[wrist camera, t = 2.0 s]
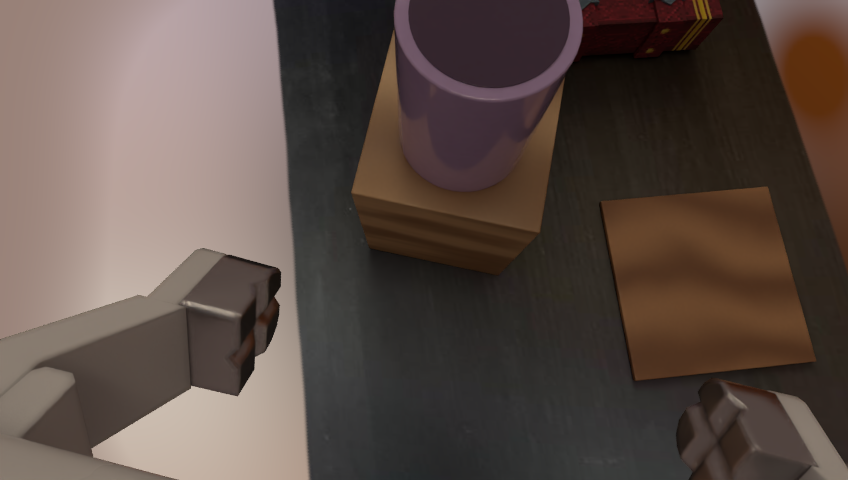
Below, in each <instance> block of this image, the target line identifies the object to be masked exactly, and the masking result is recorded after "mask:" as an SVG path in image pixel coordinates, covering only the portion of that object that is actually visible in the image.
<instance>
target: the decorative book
mask: <svg viewBox="0 0 848 480" xmlns="http://www.w3.org/2000/svg"><path fill="white" fill-rule="evenodd" d="M579 2H580V6H581V9H582V17H583V34H582V40H581V44H580V47H579V50H578V53H577V55H576V57H575V59H574V61H573V62H577V61H579V60H580V59H581V57H582V56H589V55H606V54H623V53H633V57H634V58H644V57H659V55H660V54H661V53H662V52H663V51H673V50H690V49H696V48H697V47H698V46H699V45H700V44H701V42H702V41H703V40H704V39H705V38H706V37H707V36H708V35H709V34H710V32H711V31H712V30H713V29H714V28H715V27H716V26H717V25H718V24H719V22H720V21H721V20H722V19H723V14H722V10H721V6H720V3H719V0H579Z"/></svg>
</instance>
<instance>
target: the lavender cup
mask: <svg viewBox="0 0 848 480" xmlns="http://www.w3.org/2000/svg"><path fill="white" fill-rule="evenodd" d="M394 32H395V56H396V81H397V105H398V129H399V141H400V145H401V149H402V152H403V154H404V156H405V158H406V160H407V161H408V163H409V164H410V166H411V167H412V168H413V169H414V170H415V172H417V173H418V174H419V175H420V176H421V177H422V178H424V179H425V180H427V181H428V182H430V183H432V184H434V185H435V186H438V187H440V188H443V189H447V190H451V191H458V192H472V191H478V190H482V189H486V188H488V187H491V186H493V185H495V184H497V183H499V182H500V181H502V180H503V179H504V178H506V177H507V176H508V175H509V174H510V173H511V172H512V171H513V170H514V169H515V167H516V166H517V164H518V163H519V161H520V159H521V157H522V156H523V154H524V152H525V150H526V148H527V146H528V144H529V143H530V141H531V139H532V137H533V135H534V133H535V131H536V130H537V128H538V126H539V124H540V122H541V120H542V118H543V117H544V115H545V113H546V111H547V109H548V107H549V105H550V104H551V102H552V100H553V98H554V96H555V94H556V92H557V91H558V89H559V87H560V85H561V83H562V81H563V79H564V78H565V76H566V74H567V72H568V70H569V68H570V66H571V65H572V63H573V61H574V59H575V57H576V55H577V53H578V50H579V47H580V44H581V40H582V34H583V17H582V9H581V6H580V2H579V0H396V1H395V8H394Z"/></svg>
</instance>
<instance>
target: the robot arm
mask: <svg viewBox="0 0 848 480" xmlns="http://www.w3.org/2000/svg"><path fill="white" fill-rule="evenodd" d="M280 287H281V272H280V270H279V269H278V268H276V267H272V266H268V265H265V264H261V263H257V262H254V261H250V260H246V259H243V258H239V257H236V256H232V255H226V254H224V253H219V252H216V251H212V250H208V249H205V248H202V249H198V250H196V251H194V252H193V253H192V254H191V255H190V256H189V257H188V258H187V259H186V260H185V261H184V262H183V263H182V264H181V265H180V266H179V267H178V268H177V269H176V270H175V271H173V273H171V274H170V275H169V276H168V277H167V278H166V279H165V280H164V281H163V282H162V283H161V284H160V285H159V286H158V287H157V288H156V289H155V290H154V291H153V292H152V293H151V294H150V295H148V297H145V296H141V295H137V296H134V297H131V298H128V299H125V300H122V301H119V302H115V303H112V304H109V305H106V306H103V307H100V308H97V309H94V310H91V311H87V312H84V313H81V314H78V315H75V316H72V317H69V318H65V319H62V320H59V321H56V322H53V323H50V324H47V325H43V326H40V327H37V328H34V329H31V330H28V331H25V332H22V333H18V334H15V335H12V336H9V337H6V338H3V339H0V480H177V479H173V478H169V477H165V476H161V475H158V474H153V473H150V472H146V471H142V470H139V469H135V468H131V467H127V466H124V465H119V464H116V463H112V462H109V461H104V460H101V459H97V458H93V454H92V450H91V448H93V447H94V446H96V445H98V444H99V443H101V442H103V441H104V440H106V439H108V438H109V437H111V436H113V435H114V434H116V433H118V432H119V431H121V430H122V429H124V428H126V427H128V426H129V425H131V424H133V423H134V422H136V421H138V420H139V419H141V418H142V417H144V416H146V415H147V414H149V413H151V412H152V411H154V410H156V409H157V408H159V407H161V406H162V405H164V404H166V403H167V402H169V401H170V400H172V399H174V398H176V397H177V396H179V395H180V394H182V393H184V392H186V391H187V390H189V389H191V386H195V387H199V388H204V389H209V390H212V391H217V392H221V393H226V394H230V395H235V396H238V395H239V393H240V392H241V390H242V388H243V387H244V385H245V383H246V382H247V380H248V378H249V377H250V375H251V374H252V372H253V371H254V364H255V357H256V356H258V355H260V354H261V353H264V352H265V351H266V349H267V347H268V346H269V344H270V342H271V340H272V337H273V335H274V332H275V329H276V326H277V322H278V317H279V306H280V305H279V303H278V302H277V300H276V299H275V297H274V296H275V294H276V293H277V291H278V290H279V288H280ZM698 394H699V398H700V402H699V403H697V404H694V405H692V406H690V407H687V408H686V410H685V411H684V413H683V414H682V416H681V418H680V419H679V422H678V427H677V432H676V441H677V448H678V451H679V455H680V458H681V459H682V460H683V462H684V463H685V464H686V465H687V466H688V467H689V468H690V469H691V470H692V471H693V472H692V474H691V476H690V478H689V480H848V468H847V466H846V465H845V463H844V462H843V460H842V459H841V457H840V456H839V454H838V452H837V451H836V449H835V448H834V446H833V445H832V443H831V442H830V440H829V439H828V437H827V435H826V434H825V432H824V431H823V429H822V428H821V426H820V425H819V423H818V422H817V420H816V419H815V417H814V415H813V414H812V412H811V411H810V409H809V408H808V406H807V405H806V403H804V402H803V401H802V400H801V399H799V398H798V397H795V396H791V395H787V394H782V393H778V392H773V391H769V390H768V391H765V390H761V389H757V388H753V387H749V386H745V385H741V384H737V383H733V382H729V381H725V380H721V379H717V378H711V379H709V380H707V381H706V382H704V384H703V385H702V386H701V388H700V389H699V391H698Z"/></svg>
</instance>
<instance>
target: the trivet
mask: <svg viewBox="0 0 848 480" xmlns="http://www.w3.org/2000/svg"><path fill="white" fill-rule="evenodd" d="M599 204H600V209H601V214H602V220H603V225H604V230H605V235H606V240H607V245H608V251H609V256H610V261H611V266H612V271H613V277H614V282H615V287H616V292H617V297H618V303H619V308H620V313H621V318H622V323H623V329H624V334H625V339H626V344H627V349H628V354H629V360H630V365H631V370H632V375H633V380H634V381H639V380H649V379H658V378H667V377H677V376H686V375H695V374H704V373H714V372H723V371H732V370H742V369H751V368H760V367H769V366H779V365H788V364H797V363H807V362H816V358H815V355H814V351H813V348H812V344H811V340H810V337H809V333H808V330H807V326H806V322H805V319H804V315H803V312H802V308H801V304H800V301H799V297H798V294H797V290H796V287H795V283H794V279H793V276H792V272H791V269H790V265H789V261H788V258H787V254H786V251H785V247H784V243H783V240H782V236H781V233H780V229H779V225H778V222H777V218H776V215H775V211H774V207H773V204H772V200H771V197H770V193H769V190H768V187H758V188H746V189H735V190H724V191H712V192H701V193H690V194H678V195H667V196H656V197H644V198H633V199H621V200H610V201H601V202H600V203H599Z"/></svg>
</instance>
